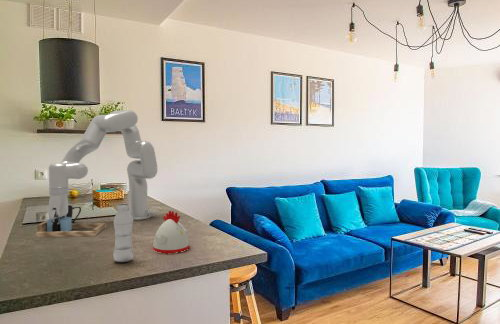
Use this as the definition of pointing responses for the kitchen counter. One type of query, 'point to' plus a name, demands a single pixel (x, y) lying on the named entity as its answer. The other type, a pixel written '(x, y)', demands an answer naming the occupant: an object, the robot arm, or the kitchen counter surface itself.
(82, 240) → the kitchen counter surface
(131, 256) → the plastic bottle
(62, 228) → the light blue block
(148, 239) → the kitchen counter surface
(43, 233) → the tray
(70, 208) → the mug
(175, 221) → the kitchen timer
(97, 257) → the kitchen counter surface
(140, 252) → the kitchen counter surface
